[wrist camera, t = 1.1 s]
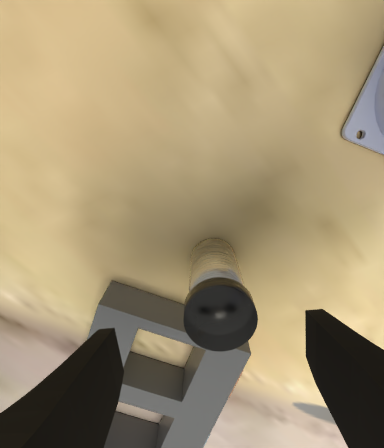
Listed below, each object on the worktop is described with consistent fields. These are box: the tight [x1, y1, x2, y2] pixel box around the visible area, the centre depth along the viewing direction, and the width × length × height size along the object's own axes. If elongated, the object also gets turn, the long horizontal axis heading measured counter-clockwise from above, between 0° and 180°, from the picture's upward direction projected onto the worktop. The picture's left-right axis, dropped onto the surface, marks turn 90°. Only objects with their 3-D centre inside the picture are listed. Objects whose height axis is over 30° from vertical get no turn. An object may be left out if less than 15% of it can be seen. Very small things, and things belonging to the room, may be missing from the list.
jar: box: [183, 238, 258, 352], centre depth 17 cm, size 3×3×7 cm
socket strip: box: [87, 281, 251, 448], centre depth 22 cm, size 10×12×3 cm
